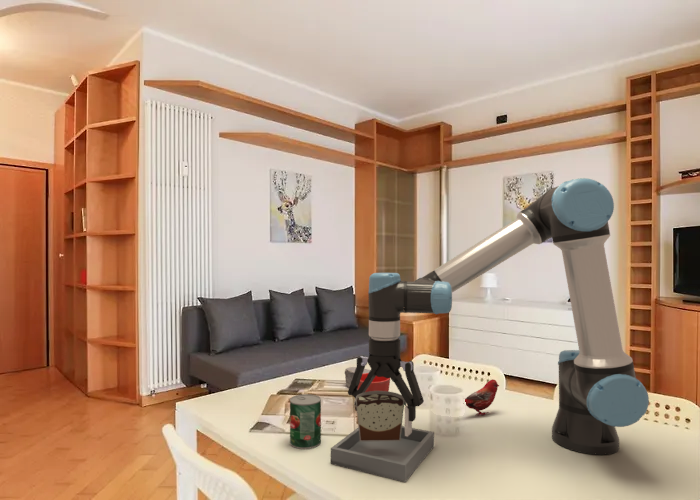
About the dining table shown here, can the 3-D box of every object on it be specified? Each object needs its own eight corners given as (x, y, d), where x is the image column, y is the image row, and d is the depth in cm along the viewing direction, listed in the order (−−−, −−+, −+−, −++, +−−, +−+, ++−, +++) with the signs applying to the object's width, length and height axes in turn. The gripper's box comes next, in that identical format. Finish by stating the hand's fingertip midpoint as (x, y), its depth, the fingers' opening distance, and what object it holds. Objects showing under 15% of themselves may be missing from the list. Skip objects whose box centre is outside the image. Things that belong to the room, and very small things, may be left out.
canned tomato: (327, 443, 113) (327, 399, 113) (301, 452, 108) (301, 406, 108) (308, 433, 119) (308, 392, 119) (283, 441, 114) (283, 398, 114)
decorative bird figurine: (502, 413, 134) (502, 379, 135) (455, 422, 127) (455, 387, 127) (495, 410, 137) (495, 377, 137) (449, 419, 129) (449, 384, 130)
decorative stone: (375, 397, 151) (387, 388, 159) (375, 376, 151) (387, 369, 159) (337, 391, 158) (351, 383, 167) (337, 371, 158) (350, 364, 166)
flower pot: (349, 411, 136) (349, 378, 137) (365, 400, 146) (365, 370, 146) (381, 416, 132) (381, 383, 132) (395, 405, 141) (395, 374, 141)
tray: (434, 446, 111) (434, 431, 111) (405, 482, 94) (405, 465, 94) (368, 432, 120) (368, 419, 120) (330, 463, 102) (330, 448, 102)
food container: (402, 430, 110) (402, 389, 110) (406, 441, 104) (406, 397, 104) (352, 431, 110) (352, 390, 110) (353, 441, 104) (353, 398, 104)
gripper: (437, 339, 105) (437, 433, 104) (348, 331, 116) (348, 416, 115) (427, 344, 98) (427, 445, 98) (333, 335, 109) (333, 426, 109)
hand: (384, 429), depth 107 cm, fingers closed on food container, 11 cm apart
